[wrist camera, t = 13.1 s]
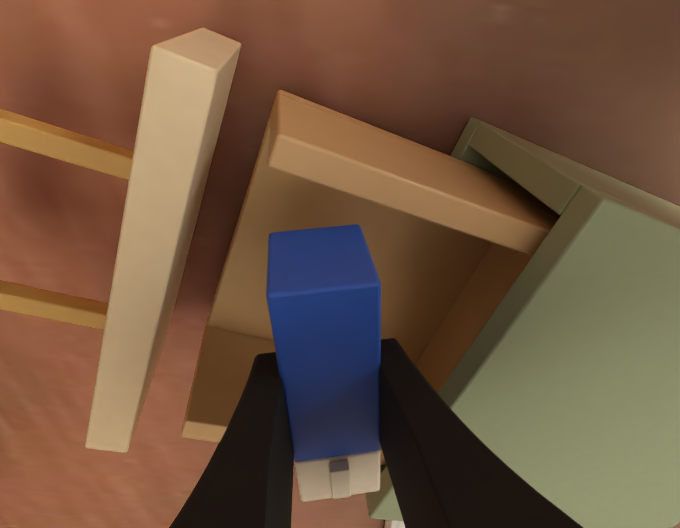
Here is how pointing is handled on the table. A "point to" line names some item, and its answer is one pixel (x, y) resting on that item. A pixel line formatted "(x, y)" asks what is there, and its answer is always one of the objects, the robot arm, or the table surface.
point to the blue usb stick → (328, 356)
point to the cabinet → (578, 347)
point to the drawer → (275, 216)
